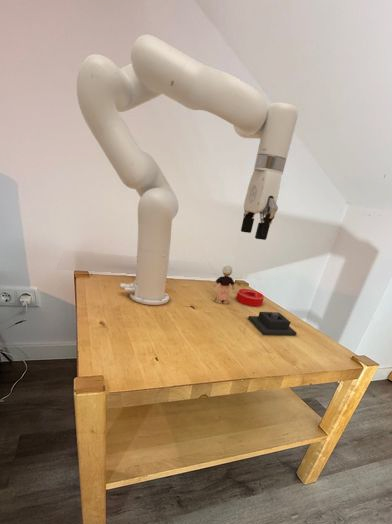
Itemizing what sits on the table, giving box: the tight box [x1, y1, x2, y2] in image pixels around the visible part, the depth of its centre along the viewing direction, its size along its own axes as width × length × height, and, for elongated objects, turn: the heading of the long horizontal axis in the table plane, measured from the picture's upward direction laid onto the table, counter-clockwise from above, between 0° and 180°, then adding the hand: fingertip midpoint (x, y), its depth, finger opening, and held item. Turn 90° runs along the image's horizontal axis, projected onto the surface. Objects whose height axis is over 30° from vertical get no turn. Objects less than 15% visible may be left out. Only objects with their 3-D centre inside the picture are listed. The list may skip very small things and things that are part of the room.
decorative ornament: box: [235, 288, 265, 307], centre depth 109 cm, size 10×10×3 cm
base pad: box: [247, 311, 297, 336], centre depth 91 cm, size 11×11×4 cm
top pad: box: [258, 311, 292, 329], centre depth 91 cm, size 7×7×2 cm
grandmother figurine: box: [212, 265, 236, 305], centre depth 101 cm, size 8×4×13 cm, turn 111°
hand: (252, 235), depth 84 cm, fingers open, 9 cm apart
